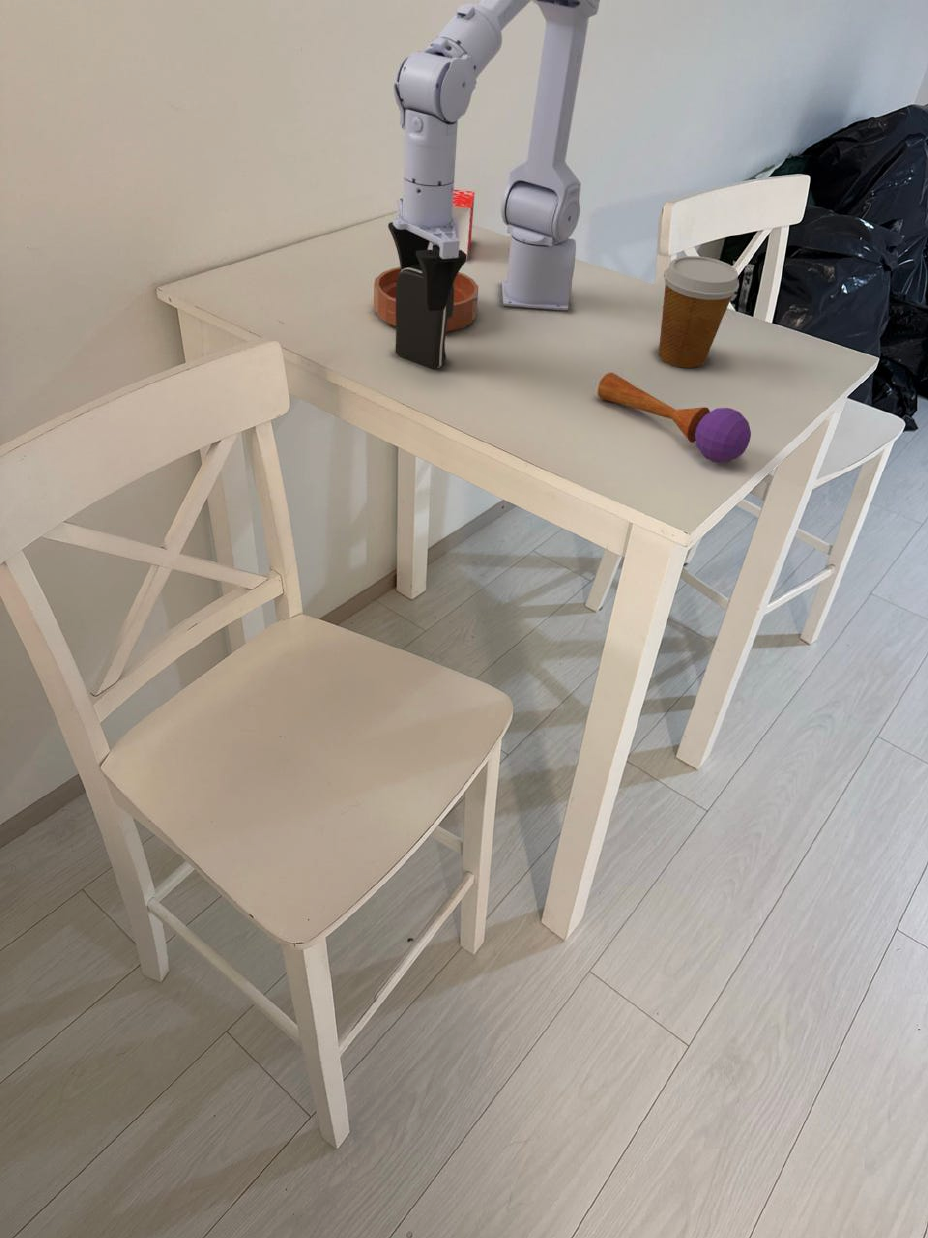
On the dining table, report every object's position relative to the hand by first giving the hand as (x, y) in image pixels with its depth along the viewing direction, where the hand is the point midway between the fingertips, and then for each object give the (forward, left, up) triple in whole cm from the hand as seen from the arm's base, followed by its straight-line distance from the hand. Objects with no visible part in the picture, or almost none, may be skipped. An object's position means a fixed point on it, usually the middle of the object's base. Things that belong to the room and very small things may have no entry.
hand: (423, 296), depth 111 cm
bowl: (0, -14, -8) cm, 16 cm away
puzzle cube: (-2, -39, -8) cm, 40 cm away
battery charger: (0, 0, -8) cm, 9 cm away
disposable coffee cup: (-35, -6, -8) cm, 37 cm away
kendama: (-30, +14, -8) cm, 34 cm away
